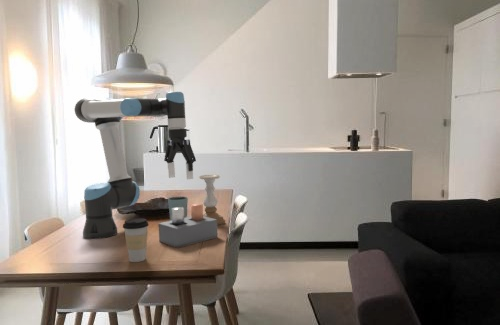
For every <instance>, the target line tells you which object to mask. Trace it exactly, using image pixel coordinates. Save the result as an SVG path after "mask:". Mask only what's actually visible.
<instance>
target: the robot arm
mask: <svg viewBox="0 0 500 325" xmlns="http://www.w3.org/2000/svg"><path fill="white" fill-rule="evenodd" d="M74 114H75V116H76V117H77V118H78V119H79V120H80V121H82V122H84V123H89V124H90V123H94V126H95V129H97V130H99V133H100V137H101V138H100V139H101V143H102V146H103V147H102V148H103V151H104V156H105V161H106V167H107V172H108V177H109V179H108V181H107V182H100V183H95V184H91V185H89V186H87V187H85V189H84V192H83V193H84V195H83V197H84V208H85V209H84V210H85V222H84V227H83V230H82V237H83V238H84V239H91V240H95V239H96V240H97V239H99V240H100V239H104V238H109V237H113V236H115V235H117V234H118V227H117V225H116V222H115V219H114V217H113V210H117V209H122V208H126V207H130V206H133V205H135V204H136V203H137V202H138V201H139V199H140V194H141V193H140V192H141V190H140V187H139V185H138V184H137V182H136V181H133V178H132V176H130V175H129V174H128V169H127V164H126V159H125V155H124V150H123V145H122V140H121V137H120V131H119V127H120V125H121V120H122V119H123V118H128V117H129V118H133V117H153V118H154V117H155V118H159V117H165V116H167V128H168V138H169V139H171V140H167V141H166V149H165V154H164V159H163V161H164V162H166V163H167V169H168V178H169V179H171V178H176V171H175V169H176V168H175V161H174V160H175V157H176V155H177V152H180V153H181V154H182V156H183V158H184V159H185V170H186V171H185V172H186V174H185V175H186V180H193V179H194V172H193V171H194V165H193V164H194V163H195V162H197V159H196V157H195V153H194V151H193V148H192V146H191V140H190V139H185V138H187V137H188V136H187V134H188V133H187V128H186V127H187V123H186V103H185V95H184V93H183V92H182V91H169V92H166V93H165V97H162V98H142V97H141V98H138V97H126V98H120V99H119V98H118V99H115V98H109V97H108V98H107V97H106V98H105V97H104V98H102V97H101V98H99V97H98V98H97V97H95V98H94V97H86V98H81V99H80V100H77V102H76V103H75V106H74Z"/></svg>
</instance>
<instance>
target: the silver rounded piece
mask: <svg viewBox="0 0 500 325" xmlns="http://www.w3.org/2000/svg"><path fill="white" fill-rule="evenodd" d="M183 224H185V223H184V208H182V207H176V208H172V225H175V226H179V225H183Z"/></svg>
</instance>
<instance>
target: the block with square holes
mask: <svg viewBox="0 0 500 325" xmlns="http://www.w3.org/2000/svg"><path fill="white" fill-rule="evenodd" d="M184 223H185V224H183V225H179V226H175V225H172V221H170V220H167V221H163V222H158V239H159V240H158V241H159V242H160V243H163V244H165V245H168V246H172V247H174V248H177V249H179V248H182V247H186V246H190V245H194V244H197V243H201V242H205V241H210V240H211V239H212V240H213V239H216V238H219V237H218V225H217V219H213V218H209V217H205V216H203V220H201V221H196V222H195V221H192V220H191V216H187V217H186V218H184Z"/></svg>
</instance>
